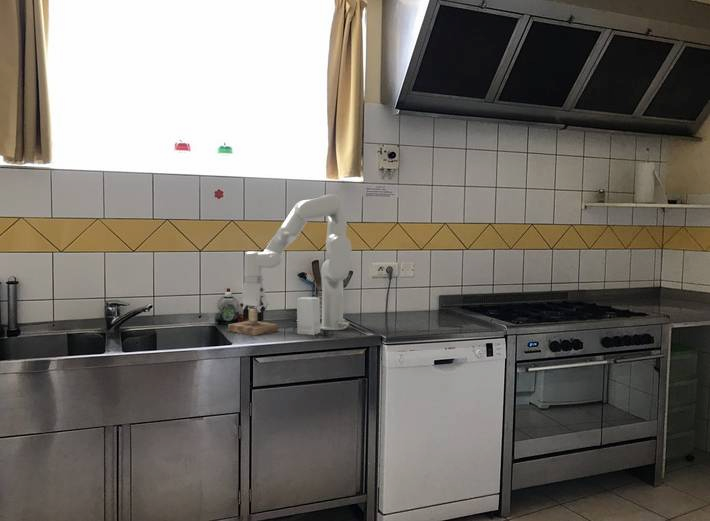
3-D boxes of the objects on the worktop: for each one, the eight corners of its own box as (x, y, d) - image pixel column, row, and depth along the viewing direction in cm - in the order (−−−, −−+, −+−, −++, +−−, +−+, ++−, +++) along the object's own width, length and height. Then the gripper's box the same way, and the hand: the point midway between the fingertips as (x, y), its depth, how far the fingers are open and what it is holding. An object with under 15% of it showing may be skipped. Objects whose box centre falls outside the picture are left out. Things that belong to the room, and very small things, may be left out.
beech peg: (260, 331, 261) (260, 308, 260) (253, 332, 257) (253, 309, 257) (253, 330, 263) (253, 307, 263) (246, 331, 260) (246, 308, 259)
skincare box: (320, 333, 258) (321, 297, 257) (313, 335, 252) (313, 299, 251) (303, 331, 262) (304, 296, 261) (296, 334, 256) (296, 297, 255)
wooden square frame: (277, 331, 262) (277, 324, 261) (255, 335, 250) (255, 328, 250) (251, 327, 271) (251, 320, 271) (228, 331, 259) (228, 324, 259)
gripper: (274, 280, 257) (273, 321, 258) (245, 278, 267) (245, 317, 268) (262, 281, 251) (261, 323, 252) (232, 279, 261) (232, 319, 262)
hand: (253, 319), depth 260 cm, fingers open, 8 cm apart
